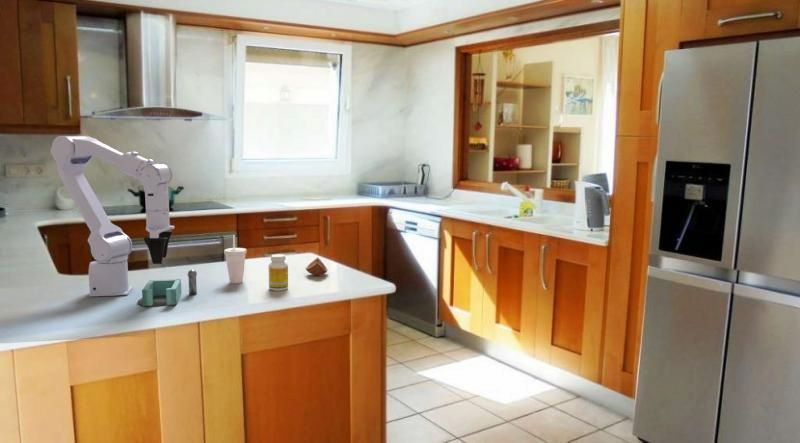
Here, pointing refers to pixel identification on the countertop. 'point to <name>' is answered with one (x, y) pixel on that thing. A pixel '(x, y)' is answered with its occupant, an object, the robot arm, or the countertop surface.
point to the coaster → (156, 300)
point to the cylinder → (192, 282)
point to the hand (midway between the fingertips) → (159, 260)
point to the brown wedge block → (316, 267)
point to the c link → (162, 291)
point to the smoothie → (235, 263)
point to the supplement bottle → (278, 273)
